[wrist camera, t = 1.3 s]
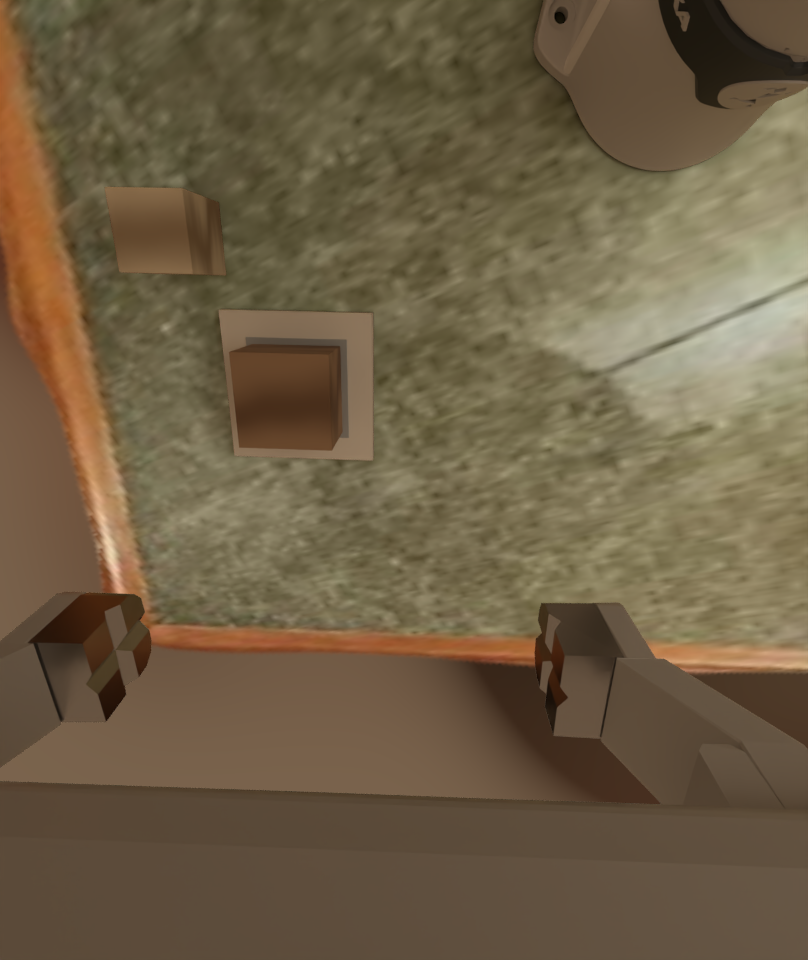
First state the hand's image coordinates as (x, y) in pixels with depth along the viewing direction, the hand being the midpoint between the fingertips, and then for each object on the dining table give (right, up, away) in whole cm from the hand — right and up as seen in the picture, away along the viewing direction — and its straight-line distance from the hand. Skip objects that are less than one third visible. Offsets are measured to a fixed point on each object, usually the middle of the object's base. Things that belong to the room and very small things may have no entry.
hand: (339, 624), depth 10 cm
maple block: (-15, +21, +28) cm, 38 cm away
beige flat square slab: (-7, +11, +31) cm, 34 cm away
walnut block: (-7, +10, +30) cm, 33 cm away
